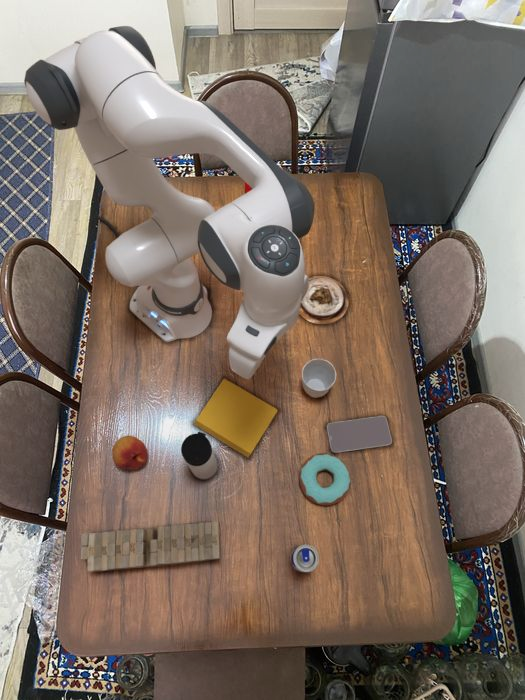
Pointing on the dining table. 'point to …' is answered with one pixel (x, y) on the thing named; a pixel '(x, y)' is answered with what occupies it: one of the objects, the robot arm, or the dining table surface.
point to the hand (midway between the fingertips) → (270, 341)
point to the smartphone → (358, 434)
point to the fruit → (129, 452)
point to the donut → (311, 485)
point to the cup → (318, 377)
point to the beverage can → (304, 558)
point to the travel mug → (199, 455)
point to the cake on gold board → (324, 301)
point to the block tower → (151, 546)
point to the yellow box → (235, 417)
